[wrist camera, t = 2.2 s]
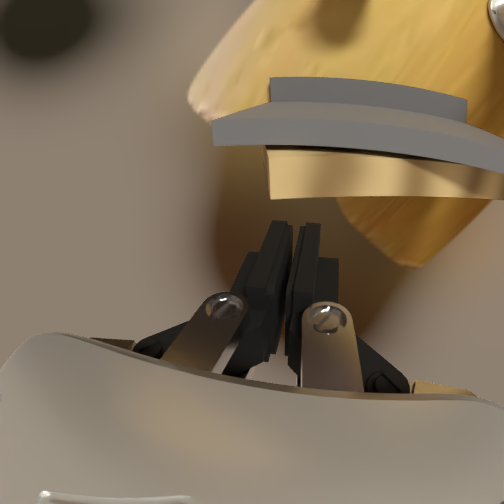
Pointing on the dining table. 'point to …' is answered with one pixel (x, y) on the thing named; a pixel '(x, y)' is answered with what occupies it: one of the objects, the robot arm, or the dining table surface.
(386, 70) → the dining table surface
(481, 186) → the picture frame
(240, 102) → the dining table surface
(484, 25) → the dining table surface
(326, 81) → the board
